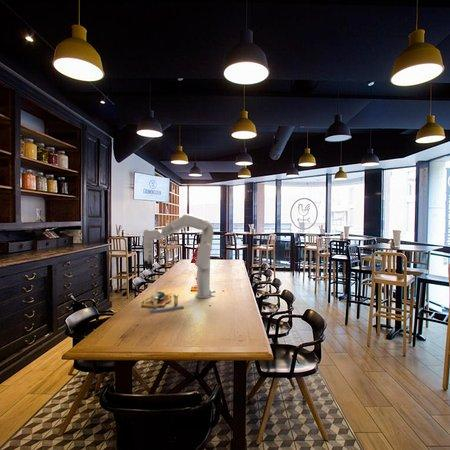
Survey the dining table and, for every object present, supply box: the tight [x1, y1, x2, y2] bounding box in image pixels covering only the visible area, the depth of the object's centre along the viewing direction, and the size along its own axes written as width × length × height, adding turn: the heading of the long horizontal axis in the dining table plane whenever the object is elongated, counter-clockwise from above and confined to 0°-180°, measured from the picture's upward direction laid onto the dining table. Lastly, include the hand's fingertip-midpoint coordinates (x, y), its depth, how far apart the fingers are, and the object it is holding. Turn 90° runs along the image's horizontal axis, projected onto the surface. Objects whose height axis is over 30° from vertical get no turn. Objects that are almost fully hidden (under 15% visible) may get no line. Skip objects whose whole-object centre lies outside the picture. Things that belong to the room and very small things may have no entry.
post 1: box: [152, 297, 158, 309], centre depth 202 cm, size 4×4×9 cm
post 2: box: [172, 293, 180, 306], centre depth 209 cm, size 4×4×9 cm
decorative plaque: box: [140, 291, 172, 309], centre depth 223 cm, size 30×7×20 cm
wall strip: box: [149, 304, 185, 314], centre depth 203 cm, size 22×3×2 cm, turn 118°
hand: (148, 267), depth 240 cm, fingers open, 9 cm apart
